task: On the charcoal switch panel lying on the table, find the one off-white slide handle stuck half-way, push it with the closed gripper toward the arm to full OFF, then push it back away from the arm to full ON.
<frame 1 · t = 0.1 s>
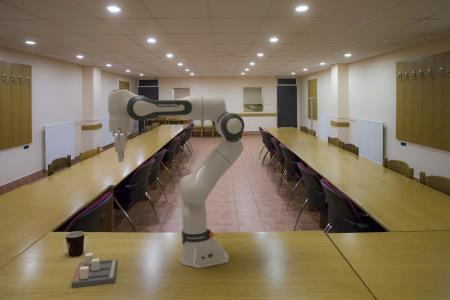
hand: (121, 160, 156), 48 cm above the table, tool pointing down, fingers open, 8 cm apart
panel: (96, 274, 155), on the table
breaker 2: (89, 258, 160), point 4 cm above the table, slide at 3.5 cm
coffee mug: (76, 255, 175), on the table
breaker tripped: (95, 264, 154), point 4 cm above the table, slide at 0.0 cm
breaker 1: (84, 272, 147), point 4 cm above the table, slide at 3.5 cm
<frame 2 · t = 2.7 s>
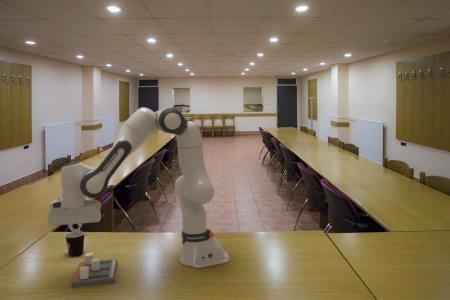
hand: (75, 233, 151), 19 cm above the table, tool pointing down, fingers closed
nothing on the table moved.
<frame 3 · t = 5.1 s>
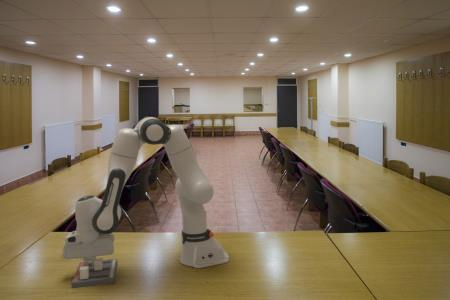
hand: (90, 266, 154), 4 cm above the table, tool pointing down, fingers closed
breaker tripped: (98, 264, 155), point 4 cm above the table, slide at -1.1 cm, touching gripper
everything else where it was.
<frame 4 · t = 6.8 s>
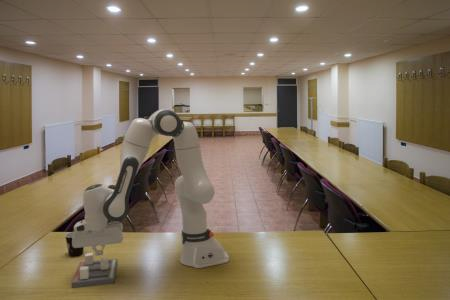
hand: (99, 254, 155), 8 cm above the table, tool pointing down, fingers closed
breaker tripped: (104, 263, 155), point 4 cm above the table, slide at -3.6 cm
everything else where it was.
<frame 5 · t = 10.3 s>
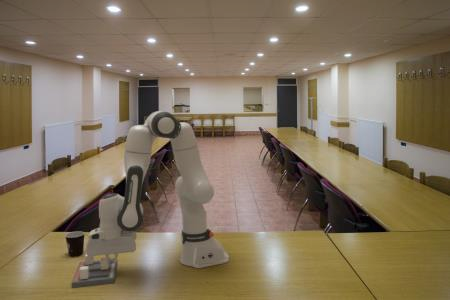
hand: (112, 263, 156), 4 cm above the table, tool pointing down, fingers closed
breaker tripped: (104, 263, 155), point 4 cm above the table, slide at -3.5 cm, touching gripper
everything else where it was.
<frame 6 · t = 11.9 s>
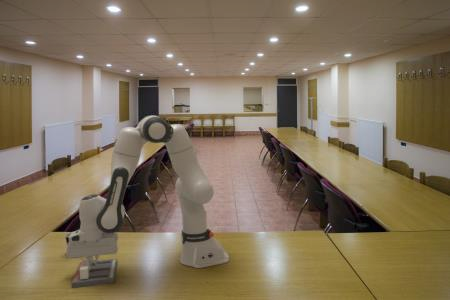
hand: (93, 265, 154), 4 cm above the table, tool pointing down, fingers closed
breaker tripped: (86, 265, 153), point 4 cm above the table, slide at 3.7 cm, touching gripper
everything else where it was.
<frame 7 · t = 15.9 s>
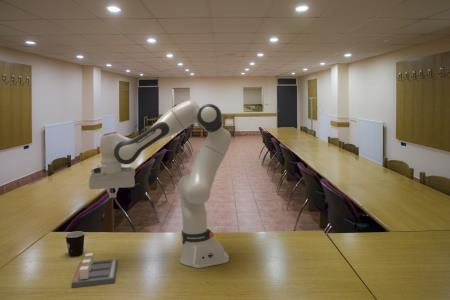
hand: (112, 197, 168), 29 cm above the table, tool pointing down, fingers closed
breaker tripped: (86, 265, 154), point 4 cm above the table, slide at 3.6 cm
everything else where it was.
at the end: breaker tripped slide at 3.6 cm; breaker 1 slide at 3.5 cm; breaker 2 slide at 3.5 cm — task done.
